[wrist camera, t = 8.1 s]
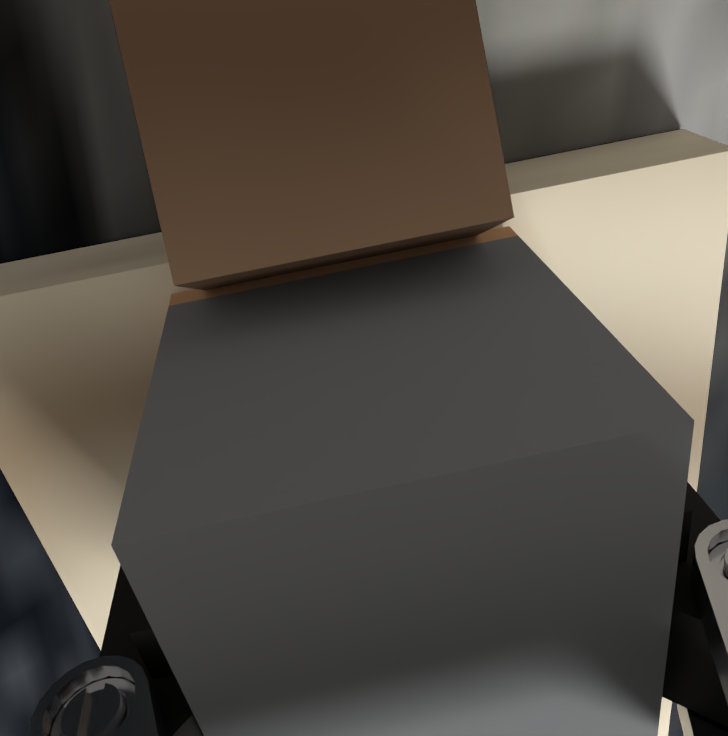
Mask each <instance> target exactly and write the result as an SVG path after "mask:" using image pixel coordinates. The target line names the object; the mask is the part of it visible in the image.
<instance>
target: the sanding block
mask: <svg viewBox="0 0 728 736" xmlns="http://www.w3.org/2000/svg"><path fill="white" fill-rule="evenodd" d="M693 429H694V419H693V418H692V417H691V416H690V415H689V414H688V413H687V412H686V411H685V410H684V409H683V408H682V407H681V406H680V405H679V404H678V403H677V402H676V401H675V400H674V398H673V397H672V396H671V395H670V394H669V393H668V392H667V391H666V390H665V389H664V388H663V387H662V386H661V385H660V384H659V383H658V382H657V381H656V380H655V379H654V378H653V376H652V375H651V374H650V373H649V372H648V371H647V370H646V369H645V368H644V367H643V366H642V365H641V364H640V363H639V362H638V361H637V360H636V359H635V358H634V357H633V355H632V354H631V353H630V352H629V351H628V350H627V349H626V348H625V347H624V346H623V345H622V344H621V343H620V342H619V341H618V340H617V339H616V338H615V337H614V336H613V334H612V333H611V332H610V331H609V330H608V329H607V328H606V327H605V326H604V325H603V324H602V323H601V322H600V321H599V320H598V319H597V318H596V317H595V316H594V315H593V313H592V312H591V311H590V310H589V309H588V308H587V307H586V306H585V305H584V304H583V303H582V302H581V301H580V300H579V299H578V298H577V297H576V296H575V295H574V294H573V292H572V291H571V290H570V289H569V288H568V287H567V286H566V285H565V284H564V283H563V282H562V281H561V280H560V279H559V278H558V277H557V276H556V275H555V274H554V273H553V272H552V270H551V269H550V268H549V267H548V266H547V265H546V264H545V263H544V262H543V261H542V260H541V259H540V258H539V257H538V256H537V255H536V254H535V253H534V252H533V251H532V249H531V248H530V247H529V246H528V245H527V244H526V243H525V242H524V241H523V240H522V239H521V238H520V237H519V236H518V235H517V234H516V233H515V232H514V231H513V230H512V228H511V227H510V226H507V227H502V228H497V229H492V230H487V231H485V232H483V233H481V234H479V235H477V236H472V237H467V238H462V239H457V240H452V241H447V242H442V243H437V244H432V245H427V246H422V247H417V248H412V249H407V250H402V251H397V252H392V253H387V254H382V255H377V256H372V257H367V258H363V259H358V260H353V261H348V262H343V263H338V264H333V265H328V266H323V267H318V268H313V269H308V270H303V271H298V272H293V273H288V274H283V275H278V276H273V277H268V278H263V279H258V280H253V281H248V282H243V283H238V284H233V285H228V286H223V287H219V288H214V289H209V290H199V289H194V290H189V291H184V292H179V293H174V294H171V298H170V303H169V307H168V311H167V315H166V319H165V323H164V328H163V332H162V336H161V340H160V344H159V348H158V352H157V357H156V361H155V365H154V369H153V373H152V377H151V382H150V386H149V390H148V394H147V398H146V402H145V407H144V411H143V415H142V419H141V423H140V427H139V431H138V436H137V440H136V444H135V448H134V452H133V456H132V461H131V465H130V469H129V473H128V477H127V481H126V485H125V490H124V494H123V498H122V502H121V506H120V510H119V515H118V519H117V523H116V527H115V531H114V535H113V540H112V544H111V546H112V548H113V550H114V552H115V554H116V557H117V559H118V561H119V563H120V565H121V567H122V569H123V571H124V573H125V575H126V577H127V579H128V581H129V583H130V585H131V587H132V589H133V591H134V593H135V595H136V598H137V600H138V602H139V604H140V606H141V608H142V610H143V612H144V614H145V616H146V618H147V620H148V622H149V624H150V626H151V628H152V630H153V632H154V634H155V636H156V638H157V641H158V643H159V645H160V647H161V649H162V651H163V653H164V655H165V657H166V659H167V661H168V663H169V665H170V667H171V669H172V671H173V673H174V675H175V677H176V679H177V682H178V684H179V686H180V688H181V690H182V692H183V694H184V696H185V698H186V700H187V702H188V704H189V706H190V708H191V710H192V712H193V714H194V716H195V718H196V720H197V722H198V725H199V727H200V729H201V731H202V733H203V735H204V736H658V727H659V719H660V710H661V702H662V693H663V685H664V676H665V668H666V659H667V651H668V642H669V634H670V625H671V617H672V608H673V600H674V591H675V583H676V574H677V565H678V557H679V548H680V540H681V531H682V523H683V514H684V506H685V497H686V489H687V480H688V472H689V463H690V455H691V446H692V438H693Z"/></svg>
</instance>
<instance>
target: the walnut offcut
mask: <svg viewBox="0 0 728 736" xmlns="http://www.w3.org/2000/svg"><path fill="white" fill-rule="evenodd" d="M109 3H110V7H111V11H112V16H113V20H114V25H115V29H116V33H117V38H118V42H119V47H120V51H121V55H122V60H123V64H124V69H125V73H126V77H127V82H128V86H129V91H130V95H131V99H132V104H133V108H134V112H135V117H136V121H137V126H138V130H139V134H140V139H141V143H142V148H143V152H144V156H145V161H146V165H147V170H148V174H149V178H150V183H151V187H152V192H153V196H154V200H155V205H156V209H157V214H158V218H159V222H160V227H161V231H162V236H163V240H164V244H165V249H166V253H167V257H168V262H169V266H170V271H171V275H172V279H173V284H174V286H179V287H185V288H192V289H199V290H209V289H214V288H219V287H223V286H228V285H233V284H238V283H243V282H248V281H253V280H258V279H263V278H268V277H273V276H278V275H283V274H288V273H293V272H298V271H303V270H308V269H313V268H318V267H323V266H328V265H333V264H338V263H343V262H348V261H353V260H358V259H363V258H367V257H372V256H377V255H382V254H387V253H392V252H397V251H402V250H407V249H412V248H417V247H422V246H427V245H432V244H437V243H442V242H447V241H452V240H457V239H462V238H467V237H472V236H477V235H479V234H481V233H483V232H485V231H487V230H489V229H491V228H493V227H496V226H498V225H500V224H502V223H504V222H506V221H508V220H510V219H512V218H514V213H513V207H512V202H511V196H510V191H509V185H508V179H507V174H506V168H505V163H504V157H503V151H502V146H501V140H500V135H499V129H498V123H497V118H496V112H495V107H494V101H493V96H492V90H491V84H490V79H489V73H488V68H487V62H486V56H485V51H484V45H483V40H482V34H481V28H480V23H479V17H478V12H477V6H476V1H475V0H109Z"/></svg>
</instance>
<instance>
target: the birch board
mask: <svg viewBox="0 0 728 736" xmlns="http://www.w3.org/2000/svg"><path fill="white" fill-rule="evenodd" d="M505 168H506V174H507V179H508V185H509V191H510V196H511V202H512V207H513V213H514V218H512V219H510V220H508V221H506V222H504V223H502V224H500V225H498V226H496V227H493V228H491V229H489V230H492V229H497V228H502V227H507V226H510V227H511V228H512V230H513V231H514V232H515V233H516V234H517V235H518V236H519V237H520V238H521V239H522V240H523V241H524V242H525V243H526V244H527V245H528V246H529V247H530V248H531V249H532V251H533V252H534V253H535V254H536V255H537V256H538V257H539V258H540V259H541V260H542V261H543V262H544V263H545V264H546V265H547V266H548V267H549V268H550V269H551V270H552V272H553V273H554V274H555V275H556V276H557V277H558V278H559V279H560V280H561V281H562V282H563V283H564V284H565V285H566V286H567V287H568V288H569V289H570V290H571V291H572V292H573V294H574V295H575V296H576V297H577V298H578V299H579V300H580V301H581V302H582V303H583V304H584V305H585V306H586V307H587V308H588V309H589V310H590V311H591V312H592V313H593V315H594V316H595V317H596V318H597V319H598V320H599V321H600V322H601V323H602V324H603V325H604V326H605V327H606V328H607V329H608V330H609V331H610V332H611V333H612V334H613V336H614V337H615V338H616V339H617V340H618V341H619V342H620V343H621V344H622V345H623V346H624V347H625V348H626V349H627V350H628V351H629V352H630V353H631V354H632V355H633V357H634V358H635V359H636V360H637V361H638V362H639V363H640V364H641V365H642V366H643V367H644V368H645V369H646V370H647V371H648V372H649V373H650V374H651V375H652V376H653V378H654V379H655V380H656V381H657V382H658V383H659V384H660V385H661V386H662V387H663V388H664V389H665V390H666V391H667V392H668V393H669V394H670V395H671V396H672V397H673V398H674V400H675V401H676V402H677V403H678V404H679V405H680V406H681V407H682V408H683V409H684V410H685V411H686V412H687V413H688V414H689V415H690V416H691V417H692V418H693V419H694V429H693V438H692V446H691V455H690V463H689V472H688V480H687V481H688V483H689V484H690V485H691V486H692V487H693V489H694V490H695V491H696V492H697V485H698V477H699V468H700V460H701V452H702V443H703V435H704V426H705V418H706V409H707V401H708V393H709V384H710V376H711V367H712V359H713V350H714V342H715V333H716V325H717V317H718V308H719V300H720V291H721V283H722V274H723V266H724V258H725V249H726V241H727V232H728V146H727V145H725V144H722V143H719V142H717V141H714V140H711V139H709V138H706V137H703V136H701V135H698V134H695V133H693V132H690V131H687V130H685V129H680V130H675V131H670V132H665V133H659V134H654V135H649V136H644V137H639V138H634V139H629V140H624V141H619V142H614V143H609V144H604V145H599V146H594V147H589V148H584V149H579V150H574V151H568V152H563V153H558V154H553V155H548V156H543V157H538V158H533V159H528V160H523V161H518V162H513V163H508V164H505ZM189 290H194V289H192V288H185V287H179V286H174V284H173V279H172V275H171V271H170V266H169V262H168V257H167V253H166V249H165V244H164V240H163V236H162V232H159V233H154V234H149V235H144V236H139V237H134V238H129V239H124V240H119V241H114V242H108V243H103V244H98V245H93V246H88V247H83V248H78V249H73V250H68V251H63V252H58V253H53V254H48V255H43V256H38V257H33V258H28V259H23V260H17V261H12V262H7V263H2V264H0V468H1V470H2V472H3V474H4V476H5V477H6V479H7V481H8V483H9V485H10V487H11V488H12V490H13V492H14V494H15V496H16V497H17V499H18V501H19V503H20V505H21V507H22V508H23V510H24V512H25V514H26V516H27V517H28V519H29V521H30V523H31V525H32V527H33V528H34V530H35V532H36V534H37V536H38V537H39V539H40V541H41V543H42V545H43V547H44V548H45V550H46V552H47V554H48V556H49V557H50V559H51V561H52V563H53V565H54V567H55V568H56V570H57V572H58V574H59V576H60V577H61V579H62V581H63V583H64V585H65V587H66V588H67V590H68V592H69V594H70V596H71V597H72V599H73V601H74V603H75V605H76V607H77V608H78V610H79V612H80V614H81V616H82V617H83V619H84V621H85V623H86V625H87V627H88V628H89V630H90V632H91V634H92V636H93V637H94V639H95V641H96V643H97V645H98V647H99V648H100V650H101V648H102V644H103V639H104V635H105V630H106V626H107V622H108V617H109V613H110V608H111V604H112V599H113V595H114V591H115V586H116V582H117V577H118V573H119V569H120V563H119V561H118V559H117V557H116V554H115V552H114V550H113V548H112V546H111V544H112V540H113V535H114V531H115V527H116V523H117V519H118V515H119V510H120V506H121V502H122V498H123V494H124V490H125V485H126V481H127V477H128V473H129V469H130V465H131V461H132V456H133V452H134V448H135V444H136V440H137V436H138V431H139V427H140V423H141V419H142V415H143V411H144V407H145V402H146V398H147V394H148V390H149V386H150V382H151V377H152V373H153V369H154V365H155V361H156V357H157V352H158V348H159V344H160V340H161V336H162V332H163V328H164V323H165V319H166V315H167V311H168V307H169V303H170V298H171V294H174V293H179V292H184V291H189ZM671 705H672V701H670V700H668V699H666V698H664V697H662V702H661V710H660V719H659V727H658V736H668V730H669V721H670V713H671Z"/></svg>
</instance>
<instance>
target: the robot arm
mask: <svg viewBox="0 0 728 736" xmlns="http://www.w3.org/2000/svg"><path fill="white" fill-rule="evenodd" d="M662 697H664V698H666V699H668V700H670V701H672V702H674V703H677V709H678V713H679V717H680V721H681V725H682V729H683V733H684V736H728V519H727V520H722V521H720V519H719V518H718V517H717V516H716V515H715V514H714V512H713V511H712V510H711V509H710V508H709V506H708V505H707V504H706V503H705V502H704V500H703V499H702V498H701V497H700V496H699V495H698V493H697V492H696V491H695V490H694V489H693V487H692V486H691V485H690V484H689V483H688V481H687V489H686V497H685V506H684V514H683V523H682V531H681V540H680V548H679V557H678V565H677V574H676V583H675V591H674V600H673V608H672V617H671V625H670V634H669V642H668V651H667V659H666V668H665V676H664V685H663V693H662ZM28 736H204V735H203V733H202V731H201V729H200V727H199V725H198V722H197V720H196V718H195V716H194V714H193V712H192V710H191V708H190V706H189V704H188V702H187V700H186V698H185V696H184V694H183V692H182V690H181V688H180V686H179V684H178V682H177V679H176V677H175V675H174V673H173V671H172V669H171V667H170V665H169V663H168V661H167V659H166V657H165V655H164V653H163V651H162V649H161V647H160V645H159V643H158V641H157V638H156V636H155V634H154V632H153V630H152V628H151V626H150V624H149V622H148V620H147V618H146V616H145V614H144V612H143V610H142V608H141V606H140V604H139V602H138V600H137V598H136V595H135V593H134V591H133V589H132V587H131V585H130V583H129V581H128V579H127V577H126V575H125V573H124V571H123V569H122V567H121V565H120V569H119V573H118V577H117V582H116V586H115V591H114V595H113V599H112V604H111V608H110V613H109V617H108V622H107V626H106V630H105V635H104V639H103V644H102V648H101V652H100V657H98V658H95V659H92V660H89V661H86V662H84V663H82V664H80V665H78V666H77V667H75V668H73V669H71V670H70V671H68V672H67V673H65V674H64V675H63V676H62V677H61V678H60V679H58V680H57V681H56V682H55V683H54V684H53V685H52V686H51V687H50V688H49V689H48V691H47V692H46V693H45V694H44V696H43V697H42V698H41V700H40V701H39V703H38V705H37V707H36V709H35V711H34V713H33V715H32V717H31V721H30V727H29V733H28Z"/></svg>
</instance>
